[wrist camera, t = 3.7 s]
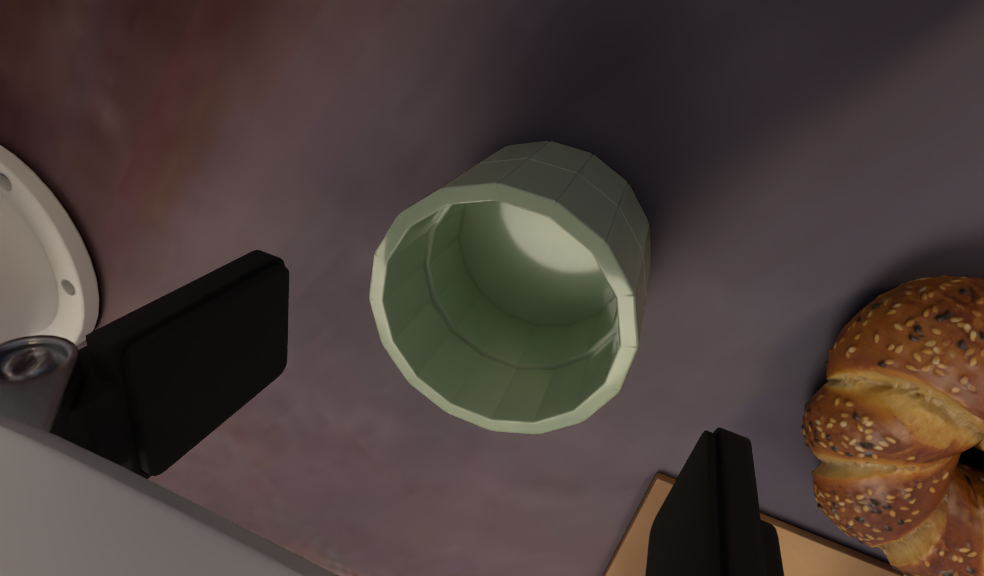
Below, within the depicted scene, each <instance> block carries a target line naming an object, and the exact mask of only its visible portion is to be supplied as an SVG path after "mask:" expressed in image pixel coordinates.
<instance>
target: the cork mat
mask: <svg viewBox="0 0 984 576" xmlns="http://www.w3.org/2000/svg"><path fill="white" fill-rule="evenodd" d="M675 481H676V479H674V478H671V477H669V476H666V475H664V474H661V473H658V472H657V473H656V475H655V477H654V479H653V481H652V483H651V485H650V487H649V489H648V491H647V493H646V494H645V496H644V498H643V500H642V502H641V504H640V506H639V508H638V510H637V512H636V513H635V515H634V517H633V519H632V521H631V523H630V525H629V527H628V529H627V531H626V532H625V534H624V536H623V538H622V540H621V542H620V544H619V546H618V548H617V550H616V551H615V553H614V555H613V557H612V559H611V561H610V563H609V565H608V567H607V569H606V571H605V572H604V574H603V576H645V574H646V563H647V553H648V543H649V535H650V530H651V527H652V524H653V521H654V519H655V517H656V515H657V513H658V511H659V510H660V508H661V506H662V504H663V502H664V501H665V499H666V497H667V495H668V494H669V492H670V490H671V488H672V486H673V485H674V483H675ZM760 519H761V520H763V521H766V522H768V523H770V524H773V526H774V527H775V528H776V530H777V534H778V538H779V545H780V551H781V558H782V564H783V570H784V576H904V575H903V573H902V572H901V571H900V570H895V569H893V568H892V566H891V565H890V564H888V563H885V562H883V561H880V560H878V559H875V558H872V557H870V556H867V555H865V554H862V553H860V552H857V551H855V550H852V549H850V548H847V547H845V546H842V545H840V544H837V543H835V542H832V541H830V540H827V539H825V538H822V537H820V536H817V535H815V534H812V533H810V532H807V531H804V530H802V529H799V528H797V527H794V526H792V525H789V524H787V523H784V522H782V521H779V520H777V519H774V518H772V517H769V516H767V515H764V514H762V513H760Z"/></svg>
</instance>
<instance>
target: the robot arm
mask: <svg viewBox="0 0 984 576" xmlns="http://www.w3.org/2000/svg"><path fill="white" fill-rule="evenodd" d="M288 299H289V271H288V269H287V268H286V267H285V264H284V262H283V260H282V259H281V258H278V257H276V256H273V255H271V254H268V253H265V252H263V251H260V250H255V251H252V252H250V253H248V254H246V255H244V256H242V257H240V258H238V259H236V260H234V261H232V262H230V263H228V264H226V265H224V266H222V267H220V268H218V269H216V270H214V271H212V272H210V273H208V274H206V275H204V276H202V277H201V278H199V279H197V280H195V281H193V282H191V283H189V284H187V285H185V286H183V287H181V288H179V289H177V290H175V291H173V292H171V293H169V294H167V295H165V296H163V297H161V298H159V299H157V300H155V301H153V302H151V303H149V304H147V305H145V306H143V307H141V308H139V309H137V310H135V311H133V312H131V313H129V314H127V315H125V316H123V317H121V318H119V319H117V320H115V321H113V322H111V323H109V324H107V325H105V326H103V327H101V328H99V329H97V330H95V331H93V330H94V328H95V324H96V321H97V318H98V314H99V291H98V284H97V278H96V274H95V271H94V267H93V264H92V261H91V258H90V255H89V253H88V251H87V248H86V246H85V244H84V242H83V239H82V237H81V235H80V233H79V232H78V230H77V228H76V226H75V225H74V223H73V221H72V220H71V218H70V216H69V214H68V213H67V211H66V210H65V209H64V207H63V206H62V205H61V203H60V202H59V200H58V199H57V198H56V196H55V195H54V194H53V192H52V191H51V190H50V189H49V188H48V187H47V186H46V184H45V183H44V182H43V181H42V180H41V179H40V178H39V177H38V176H37V174H36V173H35V172H34V171H33V170H31V169H30V168H29V167H28V166H27V165H26V164H25V163H24V162H22V161H21V160H20V159H19V158H18V157H17V156H16V155H14V154H13V153H11V152H10V151H8V150H7V149H6V148H4V147H3V146H1V145H0V576H338V575H336V574H334V573H332V572H330V571H328V570H326V569H324V568H322V567H320V566H318V565H316V564H314V563H312V562H310V561H308V560H306V559H305V558H303V557H301V556H299V555H297V554H295V553H293V552H291V551H289V550H287V549H285V548H283V547H281V546H279V545H277V544H275V543H273V542H271V541H269V540H267V539H265V538H263V537H261V536H259V535H257V534H255V533H253V532H251V531H249V530H247V529H245V528H243V527H241V526H239V525H237V524H235V523H234V522H232V521H230V520H228V519H226V518H224V517H222V516H220V515H218V514H216V513H214V512H212V511H210V510H208V509H206V508H204V507H202V506H200V505H198V504H196V503H194V502H192V501H190V500H188V499H186V498H184V497H182V496H180V495H178V494H176V493H174V492H172V491H170V490H168V489H166V488H164V487H162V486H160V485H158V484H156V483H154V482H152V481H150V480H148V478H149V477H151V476H157V475H159V474H161V473H163V472H164V471H166V470H167V469H168V468H169V467H170V466H172V465H173V464H174V463H175V462H176V461H178V460H179V459H180V458H181V457H182V456H184V455H185V454H186V453H187V452H188V451H190V450H191V449H192V448H193V447H194V446H196V445H197V444H198V443H199V442H200V441H202V440H203V439H204V438H205V437H206V436H208V435H209V434H210V433H211V432H212V431H214V430H215V429H216V428H217V427H218V426H220V425H221V424H222V423H223V422H224V421H226V420H227V419H228V418H229V417H230V416H232V415H233V414H234V413H235V412H236V411H238V410H239V409H240V408H241V407H242V406H244V405H245V404H246V403H247V402H249V401H250V400H251V399H252V398H253V397H255V396H256V395H257V394H258V393H259V392H261V391H262V390H263V389H264V388H265V387H267V386H268V385H269V384H270V383H271V382H273V381H274V380H275V379H276V378H277V377H279V376H280V375H281V373H282V372H283V371H284V369H285V367H286V364H287V344H288ZM92 331H93V332H92ZM85 340H86V341H87V346H86V347H84V348H82V349H80V350H78V349H77V347H76V346H77V345H78V344H80V343H82V342H83V341H85ZM645 576H784V570H783V564H782V558H781V551H780V545H779V538H778V534H777V530H776V528H775V527H774V526H773V524H770V523H768V522H766V521H763V520H761V519H760V511H759V503H758V495H757V487H756V478H755V470H754V462H753V454H752V446H751V442H750V440H749V439H748V438H746V437H743V436H740V435H738V434H735V433H733V432H730V431H727V430H725V429H722V428H717V429H716V430H715V431H714V433H712V432H709V431H704V432H703V433H702V435H701V436H700V438H699V440H698V442H697V444H696V445H695V447H694V449H693V451H692V453H691V454H690V456H689V458H688V460H687V461H686V463H685V465H684V467H683V469H682V470H681V472H680V474H679V476H678V478H677V479H676V481H675V483H674V485H673V486H672V488H671V490H670V492H669V494H668V495H667V497H666V499H665V501H664V502H663V504H662V506H661V508H660V510H659V511H658V513H657V515H656V517H655V519H654V521H653V524H652V527H651V530H650V535H649V543H648V553H647V563H646V574H645Z"/></svg>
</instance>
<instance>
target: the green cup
mask: <svg viewBox="0 0 984 576" xmlns="http://www.w3.org/2000/svg"><path fill="white" fill-rule="evenodd" d="M650 267H651V250H650V231H649V223H648V220H647V218H646V216H645V214H644V212H643V210H642V208H641V206H640V204H639V202H638V200H637V198H636V196H635V194H634V192H633V191H632V189H631V187H630V185H629V184H627V181H626V180H624V179H623V178H622V177H621V176H620V175H618V174H617V173H616V172H615V171H614V170H612V169H611V168H610V167H609V166H607V165H606V164H605V163H604V162H603V161H601V160H600V159H599V158H598V157H596V156H595V155H592V153H590V152H586V151H583V150H580V149H576V148H573V147H569V146H566V145H563V144H559V143H556V142H553V141H541V142H532V143H524V144H516V145H508V146H506V147H503V148H501V149H500V150H498V151H496V152H495V153H493V154H491V155H490V156H488V157H486V158H485V159H483V160H481V161H480V162H478V163H477V164H475V165H473V166H472V167H470V168H469V169H467V170H465V171H464V172H462V173H461V174H459V175H458V176H456V177H455V178H453V179H451V180H450V181H448V182H447V183H445V184H444V185H442V186H440V187H439V188H437V189H436V190H434V191H433V192H431V193H430V194H428V195H426V196H425V197H423V198H422V199H420V200H419V201H417V202H416V203H414V204H412V205H411V206H409V207H408V208H406V209H405V210H403V211H402V212H400V214H398V215H397V217H396V219H395V220H394V222H393V223H392V225H391V227H390V228H389V230H388V231H387V233H386V235H385V236H384V238H383V239H382V241H381V243H380V244H379V246H378V247H377V249H376V251H375V254H374V258H373V267H372V275H371V284H370V293H369V298H370V299H369V301H370V304H371V308H372V311H373V315H374V319H375V322H376V326H377V329H378V333H379V337H380V340H381V342H382V345H383V346H384V348H385V349H386V351H387V352H388V354H389V355H390V357H391V358H392V360H393V361H394V362H395V364H396V365H397V367H398V368H399V370H400V371H401V373H402V374H403V376H404V377H405V379H406V380H407V381H408V382H409V383H410V384H411V385H412V386H413V387H415V388H416V389H417V390H418V391H420V392H421V393H422V394H423V395H425V396H426V397H427V398H428V399H430V400H431V401H432V402H433V403H435V404H436V405H437V406H438V407H440V408H441V409H442V410H443V411H445V412H447V413H448V414H451V415H453V416H455V417H458V418H460V419H463V420H465V421H468V422H470V423H473V424H475V425H478V426H480V427H483V428H485V429H487V430H492V431H499V432H512V433H524V434H542V433H546V432H549V431H553V430H556V429H560V428H564V427H567V426H571V425H574V424H578V423H581V422H583V421H585V420H586V419H587V418H589V417H590V416H591V415H592V414H593V413H595V412H596V411H597V410H598V409H599V408H601V407H602V406H603V405H604V404H605V403H607V402H608V401H609V400H610V399H611V398H613V397H614V396H615V395H616V394H617V393H618V392H619V391H620V390H621V387H622V385H623V383H624V380H625V378H626V376H627V373H628V371H629V369H630V366H631V364H632V362H633V359H634V357H635V355H636V352H637V350H638V346H639V340H640V333H641V326H642V320H643V313H644V307H645V300H646V293H647V286H648V280H649V273H650Z"/></svg>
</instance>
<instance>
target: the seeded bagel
mask: <svg viewBox="0 0 984 576" xmlns="http://www.w3.org/2000/svg"><path fill="white" fill-rule="evenodd" d="M828 353H829V359H828V361H826V362H825V364H826V365H827V372H826V373H827V378H826V379H827V380H828V382H827V383H826V384H824V385H823V386H822V387H821V388H820V389H819V390H818V391H817V392H816V393H815V395H814V396H813V397H812V399H811V400H809V401H808V402H807V403H806V404H805V413H804V416H803V419H802V420H803V425H802V429H803V434H804V437H805V438H806V446H808V447H810V448H811V450H812V452H813V454H814V455H815V456H816V457H817V458H818V459H820V460H821V461H822V463H821V464H820V466H819V467H818V468H816V469H815V470H814V471H812V475H813V486H814V493H815V499H816V501H817V503H818V507H819V508H820V509H821V510H822V511H823V512H824V514H825V515H826V516H827V517H829V518H830V519H831V520H832V521H833V522H834V523H835V524H836V525H837V527H838V528H839V529H841V530H842V531H843V532H844V533H845V534H847V535H848V536H850V537H855V538H856V539H858V541H859V542H860V543H864V544H866V545H868V546H870V547H872V548H873V547H878V548H880V549H882V550H883V552H884V553H885V554H886V556H887V559H888V561H889V562H890V565H891V566H892V568H893V569H895V570H900V571H901V572H902V573H903V575H904V576H984V471H983V470H980V469H978V468H975V467H971V466H968V465H965V464H963V463H959V458H960V455H961V452H964V451H966V450H968V449H969V448H971V447H973V446H974V447H976V448H977V449H979V450H981V451H983V452H984V278H977V277H965V276H945V275H944V276H940V277H927V278H918V279H916V280H912V281H910V282H907V283H903V284H900V285H899V286H898V287H896V288H894V289H891V290H889V291H888V292H886V293H884V294H881V295H879V296H878V297H877V298H876V299H874V300H873V301H872V302H870V303H869V304H868V305H866V306H865V307H864V308H863V309H861V310H860V311H859V312H858V313H857V314H856V315H855V316H854V317H853V318H852V319H851V320H850V321H849V322H848V323H847V324H846V325H845V326H843V327H842V329H841V332H840V333H839V335H838V336H837V338H836V340H835V342H834V344H833V346H832V348H831V349H830V350H829V352H828Z"/></svg>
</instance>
